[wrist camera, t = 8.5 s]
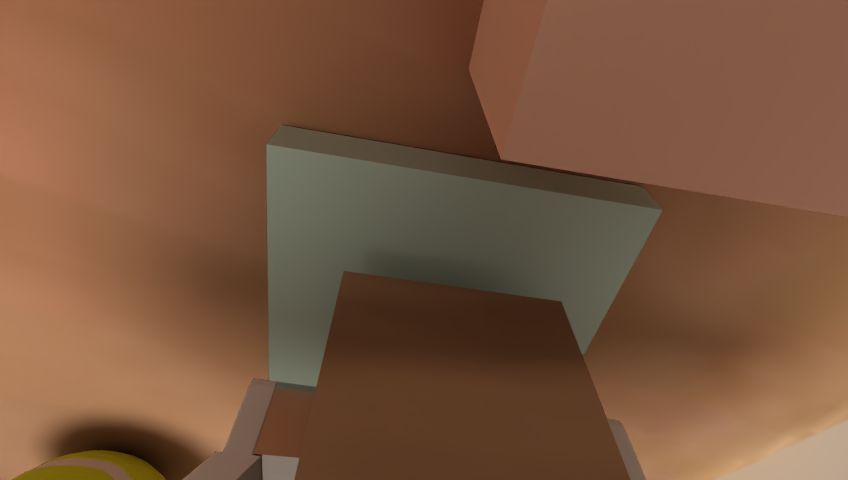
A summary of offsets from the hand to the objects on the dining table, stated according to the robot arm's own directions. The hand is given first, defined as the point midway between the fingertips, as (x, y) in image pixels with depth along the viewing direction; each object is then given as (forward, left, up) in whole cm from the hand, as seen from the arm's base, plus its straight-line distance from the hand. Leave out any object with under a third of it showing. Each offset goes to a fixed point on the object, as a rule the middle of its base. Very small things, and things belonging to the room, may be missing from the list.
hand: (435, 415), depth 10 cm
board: (0, 0, -4) cm, 4 cm away
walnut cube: (0, 0, -2) cm, 2 cm away
